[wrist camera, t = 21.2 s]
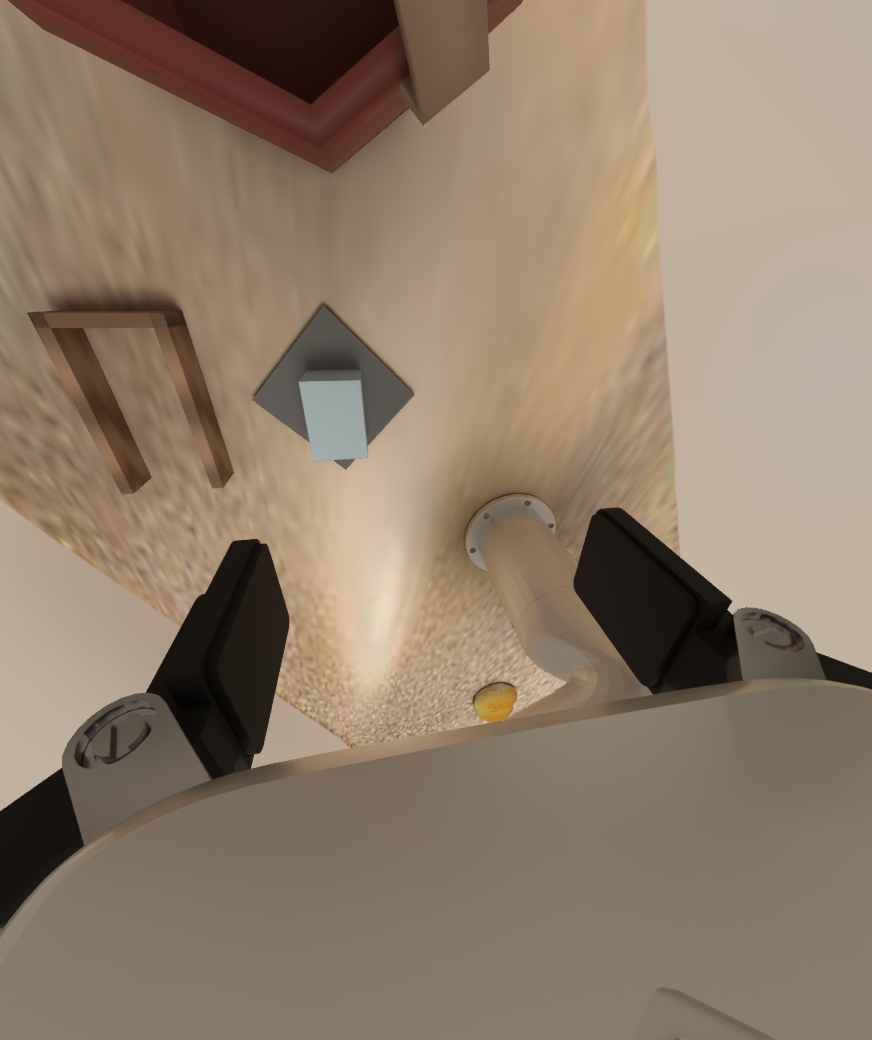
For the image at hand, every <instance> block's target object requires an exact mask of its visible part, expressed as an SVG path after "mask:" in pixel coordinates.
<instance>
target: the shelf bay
mask: <svg viewBox="0 0 872 1040" xmlns="http://www.w3.org/2000/svg"><path fill="white" fill-rule="evenodd" d="M28 315H29V317H30V319H31V321H32V323H33V325H34V327H35V329H36V331H37V333H38V335H39V336H40V338H41V340H42V342H43V344H44V346H45V348H46V350H47V352H48V354H49V356H50V358H51V360H52V361H53V363H54V365H55V367H56V369H57V371H58V373H59V375H60V377H61V379H62V381H63V383H64V384H65V386H66V388H67V390H68V392H69V394H70V396H71V398H72V400H73V402H74V404H75V406H76V407H77V409H78V411H79V413H80V415H81V417H82V419H83V421H84V423H85V425H86V427H87V429H88V430H89V432H90V434H91V436H92V438H93V440H94V442H95V444H96V446H97V448H98V450H99V452H100V454H101V455H102V457H103V459H104V461H105V463H106V465H107V467H108V469H109V471H110V473H111V475H112V477H113V478H114V480H115V482H116V484H117V486H118V488H119V490H120V492H121V494H134V493H135V492H136V491H137V490H138V489H139V488H140V487H141V486H143V485H144V484H145V483H146V482H147V481H148V480H149V479H151V476H150V474H149V472H148V470H147V467H146V465H145V463H144V461H143V459H142V456H141V454H140V452H139V450H138V448H137V446H136V443H135V441H134V439H133V437H132V435H131V432H130V430H129V428H128V426H127V424H126V422H125V419H124V417H123V415H122V413H121V411H120V408H119V406H118V404H117V402H116V400H115V398H114V395H113V393H112V391H111V389H110V387H109V384H108V382H107V380H106V378H105V376H104V374H103V371H102V369H101V367H100V365H99V363H98V360H97V358H96V356H95V354H94V352H93V350H92V347H91V345H90V343H89V341H88V339H87V336H86V334H85V332H84V330H83V328H154V329H155V332H156V335H157V338H158V340H159V343H160V346H161V349H162V351H163V354H164V357H165V360H166V362H167V365H168V368H169V371H170V373H171V376H172V379H173V382H174V384H175V387H176V390H177V393H178V395H179V398H180V401H181V404H182V406H183V409H184V412H185V415H186V417H187V420H188V423H189V426H190V428H191V431H192V434H193V437H194V439H195V442H196V445H197V448H198V450H199V453H200V456H201V458H202V461H203V464H204V467H205V469H206V472H207V475H208V478H209V480H210V483H211V486H212V488H223V487H224V486H225V485H226V483H227V482H228V480H229V479H230V477H231V476H232V475H233V473H234V472H233V469H232V466H231V463H230V460H229V456H228V453H227V450H226V447H225V444H224V441H223V438H222V435H221V431H220V428H219V425H218V422H217V419H216V416H215V413H214V410H213V406H212V403H211V400H210V397H209V394H208V391H207V388H206V385H205V381H204V378H203V375H202V372H201V369H200V366H199V363H198V360H197V356H196V353H195V350H194V347H193V344H192V341H191V338H190V335H189V331H188V328H187V325H186V322H185V319H184V316H183V313H182V311H45V312H29V313H28Z"/></svg>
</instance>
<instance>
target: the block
mask: <svg viewBox="0 0 872 1040" xmlns="http://www.w3.org/2000/svg"><path fill="white" fill-rule="evenodd" d="M299 387H300V392H301V398H302V403H303V408H304V414H305V419H306V425H307V430H308V435H309V441H310V446H311V451H312V457H313V461H322V460H340V459H357V458H368V448H367V432H366V422H365V412H364V401H363V391H362V380H361V370H314V371H306V372H305V373H304V375H303V376H302V378H301V379H300V380H299Z"/></svg>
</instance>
